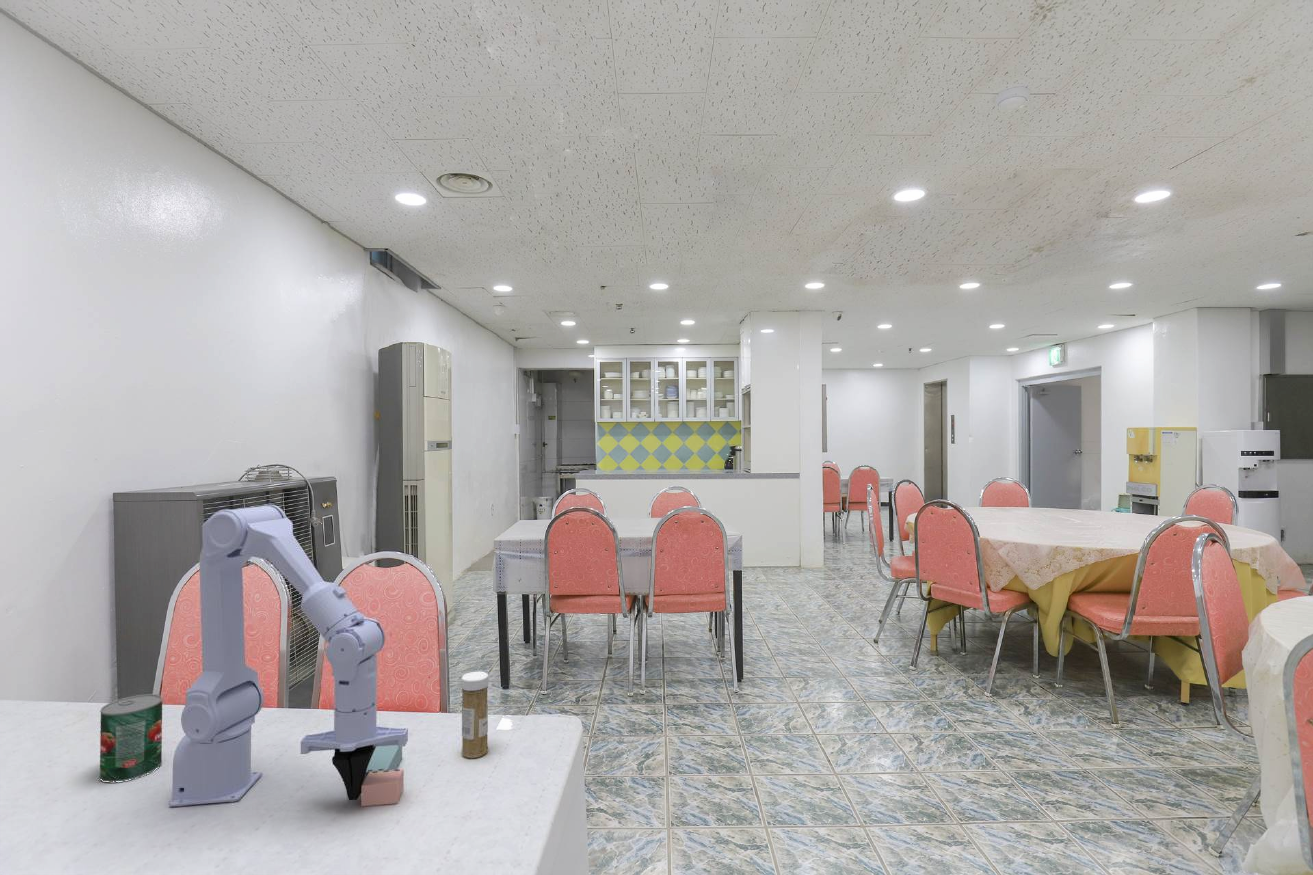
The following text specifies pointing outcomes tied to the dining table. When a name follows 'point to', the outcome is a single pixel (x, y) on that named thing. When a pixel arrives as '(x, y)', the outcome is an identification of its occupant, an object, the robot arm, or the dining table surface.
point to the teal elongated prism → (384, 759)
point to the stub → (382, 787)
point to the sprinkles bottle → (474, 714)
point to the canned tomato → (130, 737)
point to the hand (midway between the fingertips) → (355, 796)
